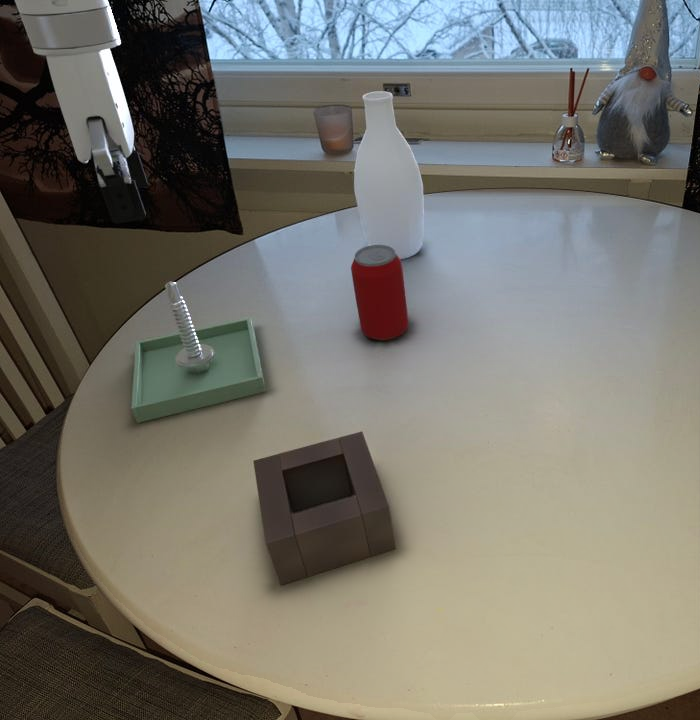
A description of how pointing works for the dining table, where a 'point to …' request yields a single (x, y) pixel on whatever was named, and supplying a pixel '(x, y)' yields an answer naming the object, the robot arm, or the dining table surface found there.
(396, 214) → the bottle
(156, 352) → the tray
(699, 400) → the dining table surface
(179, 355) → the screw
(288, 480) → the holder
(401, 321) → the beverage can
